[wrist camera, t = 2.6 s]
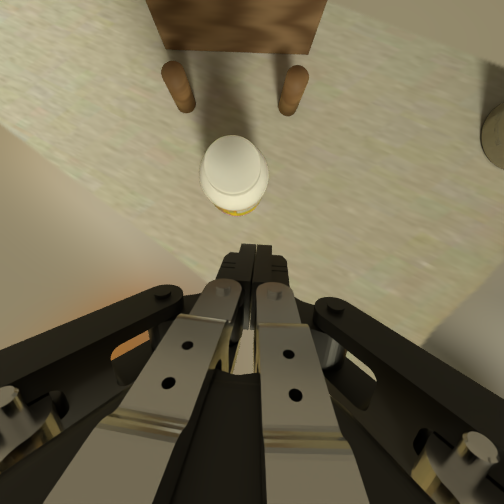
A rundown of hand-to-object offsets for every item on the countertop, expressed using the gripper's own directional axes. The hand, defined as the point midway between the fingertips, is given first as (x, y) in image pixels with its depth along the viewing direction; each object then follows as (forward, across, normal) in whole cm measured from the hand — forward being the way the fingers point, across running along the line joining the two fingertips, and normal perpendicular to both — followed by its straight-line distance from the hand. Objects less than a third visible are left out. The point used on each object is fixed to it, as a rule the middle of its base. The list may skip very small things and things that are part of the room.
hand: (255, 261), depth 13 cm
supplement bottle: (+22, +4, +1) cm, 22 cm away
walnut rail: (+28, +5, -16) cm, 33 cm away
